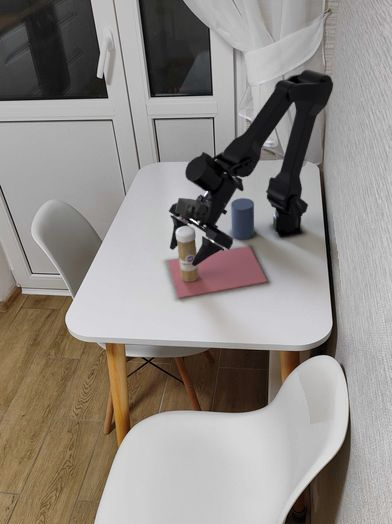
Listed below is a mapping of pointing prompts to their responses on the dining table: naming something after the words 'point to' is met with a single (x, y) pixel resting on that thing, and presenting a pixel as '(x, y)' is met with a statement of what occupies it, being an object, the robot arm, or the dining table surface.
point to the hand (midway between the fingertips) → (182, 257)
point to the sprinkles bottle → (187, 253)
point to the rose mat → (220, 273)
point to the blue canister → (242, 218)
